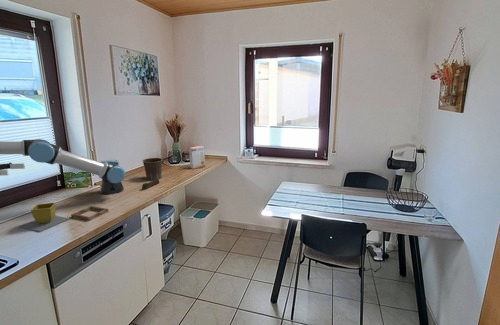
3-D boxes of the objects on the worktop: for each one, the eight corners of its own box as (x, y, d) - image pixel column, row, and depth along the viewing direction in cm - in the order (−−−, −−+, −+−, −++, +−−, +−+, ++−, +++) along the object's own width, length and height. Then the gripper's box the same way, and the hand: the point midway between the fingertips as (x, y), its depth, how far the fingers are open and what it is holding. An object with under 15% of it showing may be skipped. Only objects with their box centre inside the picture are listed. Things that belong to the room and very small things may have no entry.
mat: (49, 215, 158) (49, 214, 158) (69, 219, 153) (69, 218, 153) (18, 227, 143) (18, 226, 143) (40, 232, 138) (39, 231, 138)
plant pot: (152, 182, 222) (151, 162, 218) (139, 179, 230) (138, 160, 227) (167, 177, 236) (166, 159, 232) (155, 174, 244) (154, 157, 240)
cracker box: (202, 166, 277) (201, 145, 272) (205, 167, 272) (204, 146, 268) (189, 168, 268) (188, 147, 263) (192, 169, 264) (191, 148, 259)
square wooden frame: (91, 208, 168) (91, 205, 167) (108, 211, 163) (108, 208, 163) (71, 217, 155) (70, 214, 155) (89, 220, 151) (88, 217, 151)
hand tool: (155, 183, 220) (155, 177, 219) (159, 183, 219) (159, 178, 218) (139, 190, 203) (138, 184, 202) (143, 191, 201) (143, 185, 200)
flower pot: (39, 219, 151) (36, 204, 149) (58, 217, 154) (55, 202, 152) (33, 226, 143) (30, 210, 141) (53, 223, 146) (50, 208, 144)
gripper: (-12, 171, 151) (31, 170, 155) (-51, 185, 127) (1, 183, 131) (-15, 158, 149) (29, 157, 153) (-55, 169, 126) (-2, 168, 130)
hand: (16, 169), depth 142 cm, fingers open, 13 cm apart
